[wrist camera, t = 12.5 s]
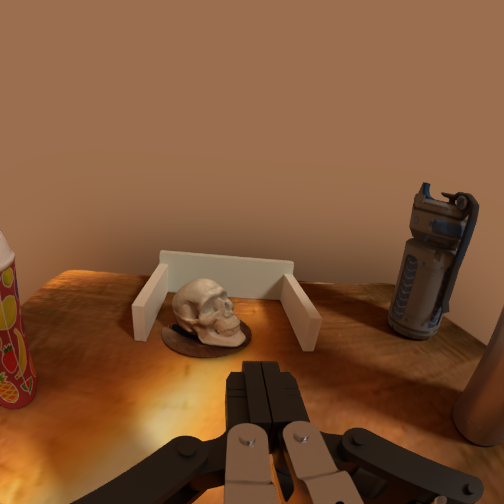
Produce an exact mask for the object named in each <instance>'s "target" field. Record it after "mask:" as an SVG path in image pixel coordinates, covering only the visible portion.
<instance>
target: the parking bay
mask: <svg viewBox="0 0 504 504" xmlns="http://www.w3.org/2000/svg"><path fill="white" fill-rule="evenodd" d="M293 268H294V263H293V262H292V261H284V260H271V259H258V258H246V257H235V256H223V255H210V254H200V253H188V252H176V251H165V250H162V251H161V252H160V264H159V266H158V267H157V268H156V270H155V271H154V273H153V274H152V276H151V277H150V279H149V280H148V282H147V283H146V284H145V286H144V287H143V289H142V290H141V292H140V293H139V295H138V296H137V298H136V300H135V301H134V303H133V304H132V315H133V327H134V337H135V340H137V341H144V342H146V341H147V338H148V336H149V333H150V331H151V329H152V326H153V324H154V322H155V319H156V317H157V315H158V312H159V310H160V308H161V306H162V303H163V301H164V299H165V297H166V294H167V292H176V293H177V291H178V290H179V289H180V288H181V287H182V286H183V285H185V284H187V283H189V282H190V281H193V280H195V279H200V278H206V279H211V280H213V281H215V282H217V283H218V284H219V285H220V286H221V287H223V288H224V289H225V290H226V291H227V297H236V298H251V299H268V300H280V301H281V303H282V306H283V308H284V310H285V312H286V315H287V317H288V319H289V321H290V324H291V326H292V328H293V330H294V332H295V335H296V337H297V339H298V341H299V344H300V346H301V348H302V350H303V351H314V348H315V345H316V341H317V337H318V333H319V329H320V325H321V321H322V317H321V316H320V314H319V313H318V311H317V310H316V308H315V307H314V306H313V304H312V303H311V301H310V300H309V298H308V297H307V295H306V294H305V292H304V291H303V289H302V288H301V286H300V285H299V283H298V282H297V280H296V279H295V278H294V276H293Z"/></svg>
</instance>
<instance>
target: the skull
mask: <svg viewBox="0 0 504 504" xmlns="http://www.w3.org/2000/svg"><path fill="white" fill-rule="evenodd" d="M233 309H234V306H233V303H232V302H231V301H230V300H229V299H228V298H227V291H226V290H225V289H224V288H223V287H221V286H220V285H219V284H218V283H217V282H215V281H213V280H211V279H206V278H200V279H195V280H193V281H190V282H189V283H187V284H185V285H183V286H182V287H181V288H180V289H179V290H178V291H177V293H176V294H175V296H174V298H173V300H172V310H173V313H174V316H175V318H176V320H177V323H178V324H177V325H176V324H174V325H172V326H171V327H172V328H171V327H170V324H169V325H168V327H166V328H165V327H163V329H162V332H161V335H162V339H163V341H164V342H165V343H166V344H167V345H168V346H169V347H170V348H172V349H174V350H175V351H178V352H180V353H183V354H186V355H190V356H196V357H215V358H217V357H218V356H226V355H228V354H232V353H235V352H237V351H239V350H241V349H243V348H244V347H246V345H248V344H249V342H250V340H251V336H252V334H251V330H250V328H249V327H248V326H247V325H246V324H245V323H244V322H242V321H241V320H239V319H238V318H237V317H236V316H235V314H234V313H233V311H232V310H233Z"/></svg>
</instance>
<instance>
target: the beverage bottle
mask: <svg viewBox="0 0 504 504" xmlns="http://www.w3.org/2000/svg"><path fill="white" fill-rule="evenodd" d="M429 187H430V184H429V183H423V184H422V187H421V189H420V191H419V193H418V194H416V195H415V197H414V204H413V208H412V214H411V220H410V226H409V227H410V230H411V233H412V236H413V237H414V238H412V239H409V240H408V241H407V242H406V246H405V250H404V255H403V259H402V263H401V267H400V272H399V275H398V280H397V283H396V287H395V290H394V294H393V297H392V301H391V304H390V307H389V310H388V314H387V318H388V323H389V325H390V326H391V327H392V328H393V329H394V330H395V331H397V332H398V333H400V334H402V335H404V336H406V337H409V338H414V339H426V338H427V339H428V338H431V337H432V336H433V335H434V334H435V333H436V332H437V330H438V328H439V325H440V323H441V320H442V317H443V314H444V313H446V312H449V300H450V297H451V294H452V291H453V288H454V285H455V281H456V278H457V275H458V271H459V268H460V266H461V264H462V261H463V259H464V256H465V253H466V251H467V248H468V245H469V243H470V239H471V237H472V234H473V231H474V228H475V225H476V222H477V217H478V211H479V204H478V202H477V201H476V200H475V198H474V197H473V196H472V195H471V194H467V193H463V192H458V193H456V194H455V195H453V194H448V193H441V194H442V195H443V196H444V197H447V198H449V202H443V201H439V200H435V199H433V198H432V197H431V196H430V193H429ZM455 200H457V205H456V204H455ZM456 249H457V250H456Z"/></svg>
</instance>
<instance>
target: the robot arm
mask: <svg viewBox="0 0 504 504" xmlns="http://www.w3.org/2000/svg"><path fill="white" fill-rule="evenodd" d="M225 418H226V431H225V433H224V434H223V435H221V436H220V437H218V438H216V439H213V440H208V441H203V442H202V441H201V440H200V439H198V438H195V437H192V436H179V437H176V438H174V439H172V440H171V441H169V442H168V443H167V444H165V445H164V446H163V447H161V448H160V449H158V450H157V451H156V452H154V453H153V454H151V455H150V456H148V457H147V458H145V459H144V460H142V461H141V462H140V463H138V464H137V465H135V466H133V467H132V468H130V469H129V470H127V471H126V472H124V473H123V474H121V475H119V476H118V477H116V478H115V479H113V480H111V481H110V482H108V483H106V484H105V485H103V486H101V487H100V488H98V489H96V490H94V491H93V492H91V493H89V494H87V495H85V496H84V497H82V498H80V499H78V500H76V501H74V502H72V503H70V504H192V503H193V502H194V501H195V500H196V499H197V498H199V497H200V496H201V495H202V494H203V493H204V492H205V491H206V490H207V489H210V488H215V487H219V486H223V485H224V503H223V504H276V494H275V487H274V484H273V483H272V482H271V476H270V462H269V454H272V456H273V463H272V472H273V476H274V479H275V483H276V486H277V490H278V493H279V496H280V500H281V504H474V503H475V502H477V501H478V500H479V499H480V498H481V497H482V495H483V491H484V487H483V484H482V482H481V480H480V479H478V478H477V477H474V476H471V475H468V474H466V473H463V472H460V471H457V470H455V469H452V468H449V467H447V466H444V465H442V464H439V463H437V462H434V461H432V460H429V459H427V458H425V457H422V456H420V455H418V454H416V453H413V452H411V451H409V450H407V449H405V448H403V447H400V446H398V445H396V444H394V443H392V442H390V441H388V440H386V439H384V438H382V437H380V436H378V435H376V434H374V433H372V432H370V431H368V430H366V429H363V428H352V429H349V430H347V431H346V432H345V433H344V434H343V435H336V434H328V433H324V432H321V431H319V430H318V428H317V427H316V426H315V425H313V424H311V423H310V421H309V418H308V415H307V412H306V409H305V406H304V403H303V400H302V397H301V394H300V391H299V389H298V385H297V382H296V379H295V378H294V377H293V376H292V375H291V374H290V373H289V372H280V369H279V365H278V362H277V361H243V362H242V371H241V372H231V373H230V374H229V376H228V378H227V379H226V394H225ZM453 420H454V423H455V425H456V427H457V429H458V430H459V432H460V433H461V434H462V435H463V436H464V437H465V438H467V439H468V440H469V441H471V442H473V443H475V444H478V445H481V446H492V445H496V444H498V443H499V442H501V441H502V440H503V439H504V306H503V309H502V311H501V314H500V317H499V319H498V322H497V324H496V327H495V329H494V332H493V334H492V336H491V339H490V341H489V343H488V345H487V347H486V350H485V352H484V354H483V356H482V358H481V360H480V362H479V364H478V366H477V368H476V370H475V372H474V373H473V375H472V377H471V379H470V381H469V382H468V384H467V386H466V388H465V389H464V391H463V393H462V394H461V396H460V398H459V399H458V401H457V402H456V404H455V405H454V408H453Z"/></svg>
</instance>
